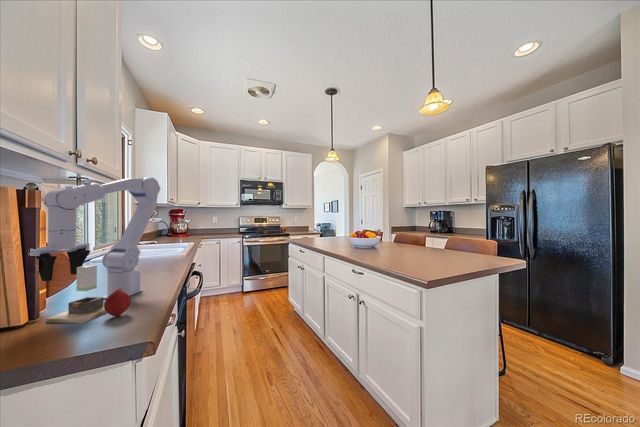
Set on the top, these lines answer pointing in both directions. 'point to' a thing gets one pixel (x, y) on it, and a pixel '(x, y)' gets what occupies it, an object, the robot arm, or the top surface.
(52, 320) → the stand
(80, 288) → the post
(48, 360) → the top surface
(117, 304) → the onion
